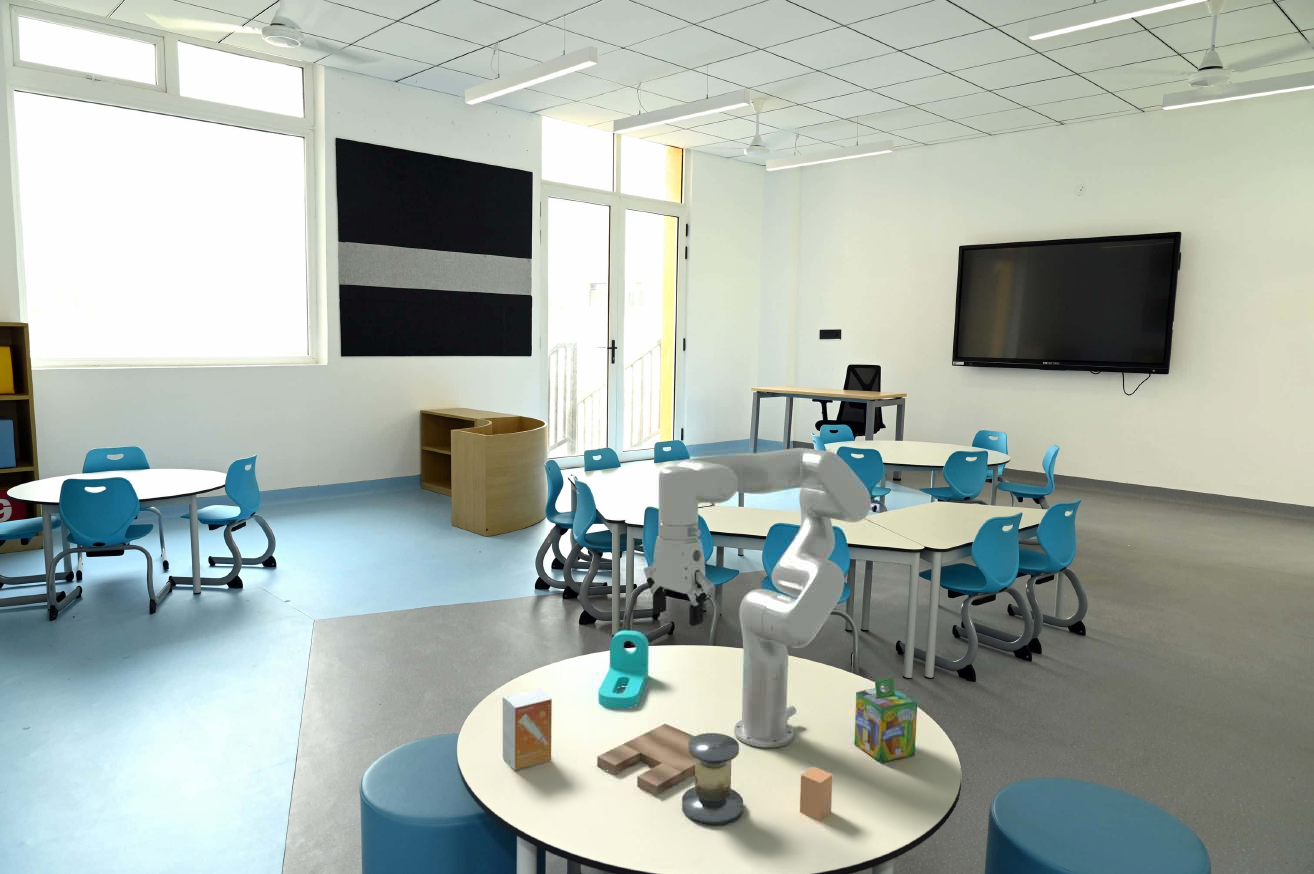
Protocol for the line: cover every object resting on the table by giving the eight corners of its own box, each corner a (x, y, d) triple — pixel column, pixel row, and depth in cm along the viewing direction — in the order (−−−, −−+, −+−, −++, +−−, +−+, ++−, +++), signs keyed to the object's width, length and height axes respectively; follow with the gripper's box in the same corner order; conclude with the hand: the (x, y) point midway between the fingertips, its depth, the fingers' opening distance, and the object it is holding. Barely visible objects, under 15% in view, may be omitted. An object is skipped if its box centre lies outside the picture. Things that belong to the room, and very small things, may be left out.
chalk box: (880, 764, 163) (883, 693, 162) (852, 744, 172) (854, 676, 170) (917, 755, 167) (920, 686, 165) (887, 736, 175) (890, 669, 174)
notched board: (665, 732, 176) (665, 723, 176) (723, 757, 165) (723, 748, 165) (597, 765, 161) (597, 756, 161) (656, 796, 150) (656, 785, 150)
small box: (514, 771, 158) (514, 707, 157) (502, 758, 164) (501, 696, 162) (552, 760, 163) (552, 698, 162) (538, 748, 168) (538, 687, 167)
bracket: (611, 674, 208) (612, 629, 207) (648, 676, 207) (648, 631, 205) (595, 707, 188) (595, 658, 187) (635, 710, 187) (636, 660, 186)
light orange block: (811, 803, 149) (812, 766, 148) (831, 811, 146) (832, 774, 145) (799, 811, 146) (800, 774, 145) (819, 820, 143) (820, 782, 142)
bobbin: (708, 785, 154) (709, 724, 153) (755, 807, 147) (757, 744, 146) (669, 808, 146) (670, 744, 145) (717, 833, 139) (718, 766, 138)
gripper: (725, 535, 152) (724, 624, 154) (659, 521, 164) (658, 604, 166) (699, 542, 147) (698, 633, 149) (632, 527, 159) (632, 612, 161)
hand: (677, 618), depth 157 cm, fingers open, 9 cm apart
